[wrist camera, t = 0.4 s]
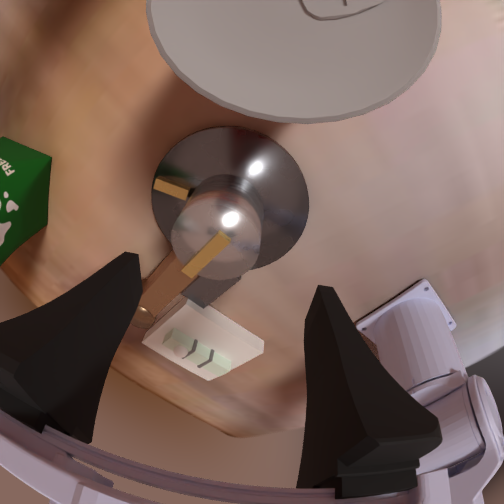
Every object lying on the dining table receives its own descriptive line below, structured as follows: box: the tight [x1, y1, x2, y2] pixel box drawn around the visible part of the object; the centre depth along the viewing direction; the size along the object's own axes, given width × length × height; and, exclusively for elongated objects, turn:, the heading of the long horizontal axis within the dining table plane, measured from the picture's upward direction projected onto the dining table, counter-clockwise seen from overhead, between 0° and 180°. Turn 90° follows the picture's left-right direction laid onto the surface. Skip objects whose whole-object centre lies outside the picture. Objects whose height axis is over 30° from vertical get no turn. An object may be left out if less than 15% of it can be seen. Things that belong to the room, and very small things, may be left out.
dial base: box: [152, 126, 309, 309], centre depth 21 cm, size 11×14×1 cm
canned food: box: [146, 0, 441, 124], centre depth 9 cm, size 8×8×11 cm
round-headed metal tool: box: [130, 174, 264, 329], centre depth 20 cm, size 14×5×5 cm, turn 138°
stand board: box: [142, 297, 264, 381], centre depth 28 cm, size 9×9×4 cm
